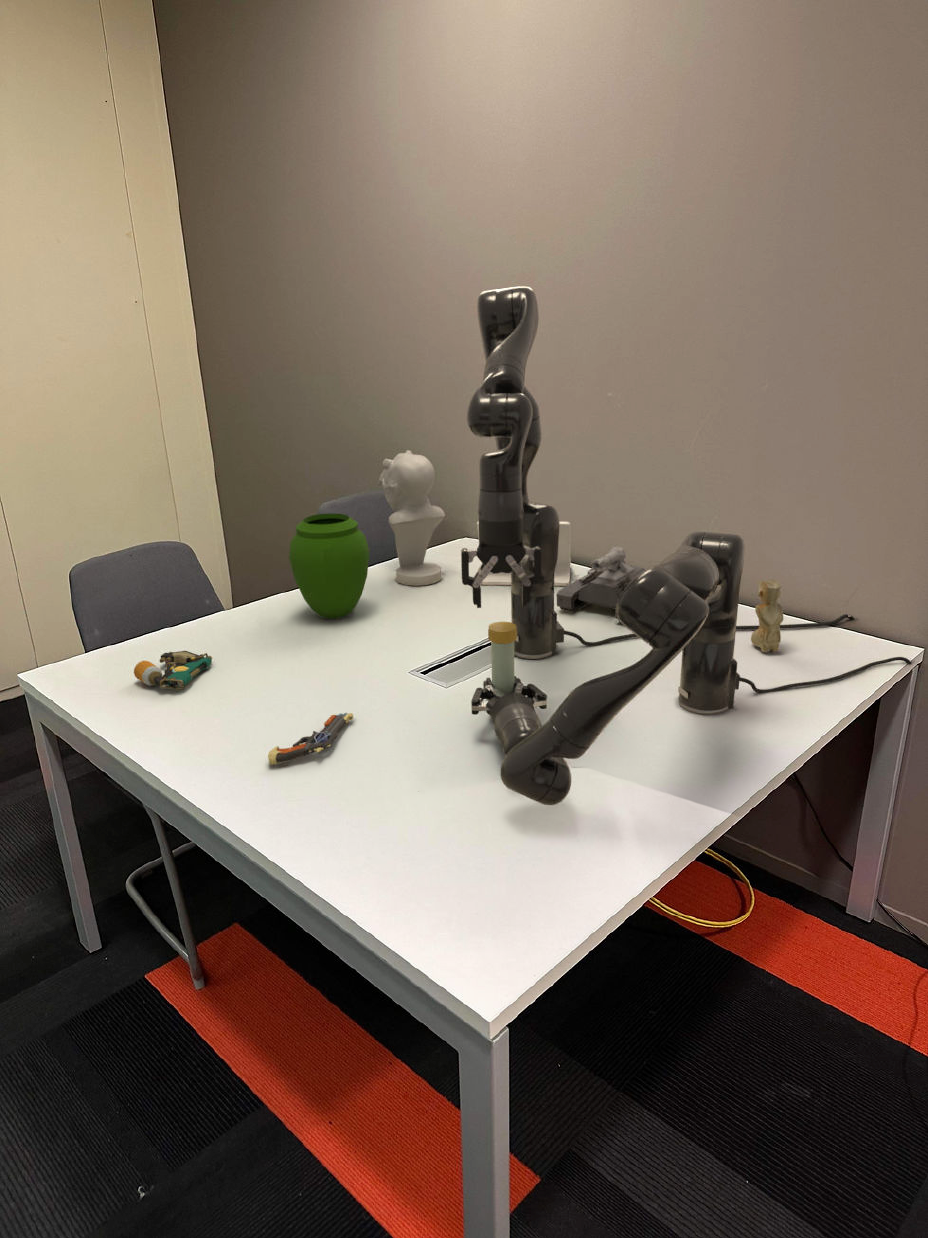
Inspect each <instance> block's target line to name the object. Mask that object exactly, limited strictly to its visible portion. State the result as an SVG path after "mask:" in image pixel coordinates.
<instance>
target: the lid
mask: <svg viewBox="0 0 928 1238" xmlns="http://www.w3.org/2000/svg"><path fill="white" fill-rule="evenodd" d="M487 637H488V638H487V639H488V640H489V641H490V643H491V642H493V643H498V644H507V643H512V642H514V641H515V640H516V639H517V628H516V625H515V624H514V623H512V622H511V621H495V622H492V623H490V624H489V625H488V629H487Z"/></svg>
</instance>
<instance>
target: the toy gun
mask: <svg viewBox="0 0 928 1238" xmlns="http://www.w3.org/2000/svg"><path fill="white" fill-rule="evenodd" d="M353 720H354V713H352V712H350V713H348V712H343V713H339V714H332V715H330V717H328V718H327V719H326V721H325V722H324V723H323V728H322V730H320V731H315V730H313V731H312V734H311V735H309V736H308V735H307V736H303V737H301V738H300V739H299V740H297V741H295V742H294V743H293V744H292V745H291V747H286V748H280V746H279V745H276V746H275V747H273V748H272V749H271V750H270V751H269V752H268V754H267V759H268V763H269V764H270V765H278V764H282V763H285V762H289V761H292V760H295V759H298V758H303V757H305V756H309V755H312V754H314V753H316V754H319V753H320V752H322V751H324V750H325V749H327V748H329V747H331V746H332V744H333V743H334V742H335V740H337V738H338V735H339V733H340V732H341V731H342V729H344V727H345V726H346V725H347V724H348V723H349V722H350V721H353Z"/></svg>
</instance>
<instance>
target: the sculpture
mask: <svg viewBox="0 0 928 1238" xmlns="http://www.w3.org/2000/svg"><path fill="white" fill-rule="evenodd" d="M757 582H758V584H759V585H758V586H759V587H758V591H757V592H758V593H757V597H758V598H759V600H760V604H757V605H755V607H754V608H755V609H754V610H755V611H754V612H755V614H756V616H757V618H758V625H759V628H758V629H754V631H753V632H752V633H751V636H750V641H751V643H752V645H753V646H754V647H757V648H760V651H761V653H769V652H770V651H771V652H778V651H779V650H780V643H781V641H782V637H781V636H782V634H781V629H780V625H782V623H783V622H784V609H783V606H782V605H781V603H778V599H779V598H780V597H781V595H782V591H781V589H782V585H781V583H779V582H778V581H776V580H774V579H771V580H770V579H769V580H758V581H757Z"/></svg>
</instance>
